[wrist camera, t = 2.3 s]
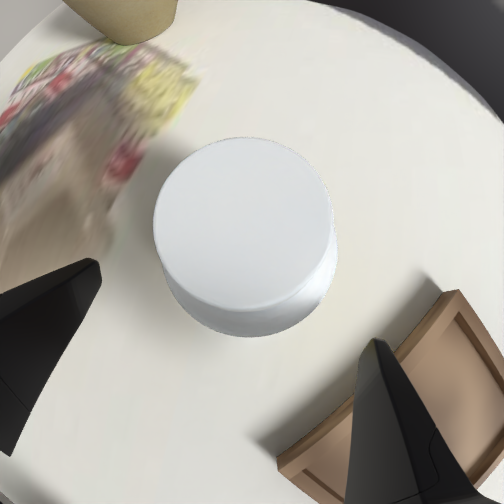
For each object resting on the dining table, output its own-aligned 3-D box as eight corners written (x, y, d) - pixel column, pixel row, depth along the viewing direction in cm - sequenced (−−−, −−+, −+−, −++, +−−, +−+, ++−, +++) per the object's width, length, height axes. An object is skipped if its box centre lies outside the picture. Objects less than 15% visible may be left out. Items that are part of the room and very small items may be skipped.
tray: (394, 542, 13) (402, 554, 11) (276, 457, 16) (277, 471, 14) (519, 411, 15) (533, 415, 13) (443, 292, 18) (458, 289, 16)
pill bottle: (320, 246, 19) (390, 154, 8) (285, 343, 18) (322, 385, 6) (225, 212, 20) (185, 91, 8) (187, 305, 18) (86, 285, 7)
